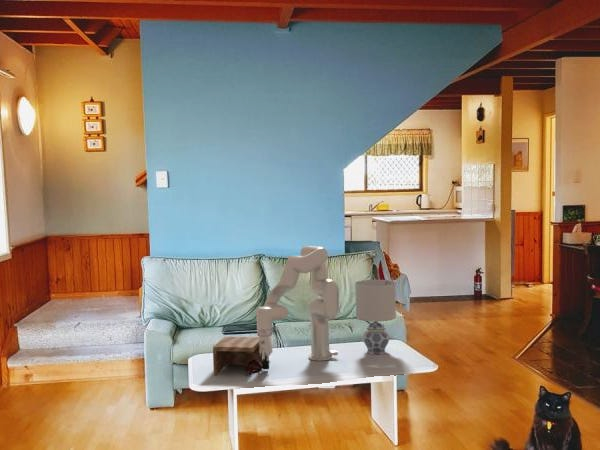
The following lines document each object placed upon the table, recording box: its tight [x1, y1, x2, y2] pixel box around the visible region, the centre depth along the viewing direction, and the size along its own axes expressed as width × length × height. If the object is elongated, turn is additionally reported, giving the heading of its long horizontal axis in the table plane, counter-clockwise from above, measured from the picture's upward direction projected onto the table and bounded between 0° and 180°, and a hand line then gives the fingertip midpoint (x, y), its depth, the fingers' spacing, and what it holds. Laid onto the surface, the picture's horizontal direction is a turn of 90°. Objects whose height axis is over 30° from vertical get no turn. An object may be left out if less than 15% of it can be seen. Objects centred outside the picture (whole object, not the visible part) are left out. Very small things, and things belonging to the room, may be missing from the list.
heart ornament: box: [244, 360, 263, 376], centre depth 287 cm, size 6×12×11 cm
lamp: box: [354, 279, 397, 355], centre depth 315 cm, size 22×22×38 cm
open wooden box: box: [212, 336, 262, 376], centre depth 289 cm, size 20×20×14 cm
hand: (265, 368), depth 287 cm, fingers closed
